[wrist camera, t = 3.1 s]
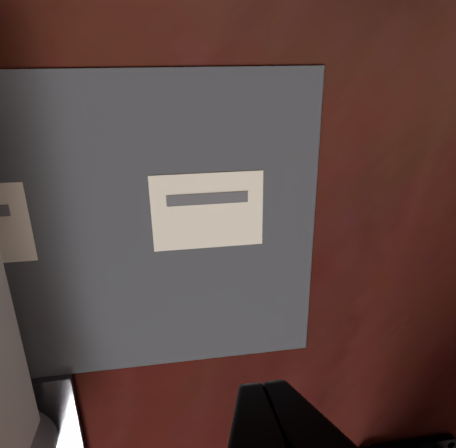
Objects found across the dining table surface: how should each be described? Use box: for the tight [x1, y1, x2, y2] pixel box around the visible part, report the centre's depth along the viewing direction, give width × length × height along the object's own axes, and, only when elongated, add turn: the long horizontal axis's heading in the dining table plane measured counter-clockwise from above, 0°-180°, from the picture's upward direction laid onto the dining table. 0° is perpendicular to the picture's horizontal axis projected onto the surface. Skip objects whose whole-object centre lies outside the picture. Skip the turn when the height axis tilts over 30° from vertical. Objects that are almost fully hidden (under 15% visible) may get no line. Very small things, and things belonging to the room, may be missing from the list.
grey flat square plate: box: [31, 374, 86, 448], centre depth 20 cm, size 6×6×1 cm
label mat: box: [0, 65, 325, 378], centre depth 17 cm, size 20×14×1 cm
